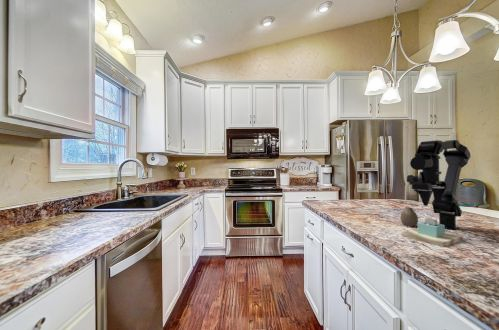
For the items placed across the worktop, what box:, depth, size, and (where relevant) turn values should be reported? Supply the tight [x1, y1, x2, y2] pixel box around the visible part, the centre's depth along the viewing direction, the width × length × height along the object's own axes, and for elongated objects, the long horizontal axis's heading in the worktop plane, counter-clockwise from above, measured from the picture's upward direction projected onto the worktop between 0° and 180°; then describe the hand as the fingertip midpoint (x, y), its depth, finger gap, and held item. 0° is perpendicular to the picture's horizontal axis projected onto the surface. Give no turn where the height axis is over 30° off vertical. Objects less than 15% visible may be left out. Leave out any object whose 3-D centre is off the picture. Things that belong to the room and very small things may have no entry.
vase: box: [400, 206, 419, 228], centre depth 105 cm, size 7×7×9 cm
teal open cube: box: [417, 221, 446, 238], centre depth 88 cm, size 6×6×4 cm
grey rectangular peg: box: [424, 217, 438, 226], centre depth 88 cm, size 2×3×6 cm, turn 26°
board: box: [401, 227, 464, 248], centre depth 88 cm, size 15×14×2 cm
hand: (431, 204), depth 95 cm, fingers open, 9 cm apart
